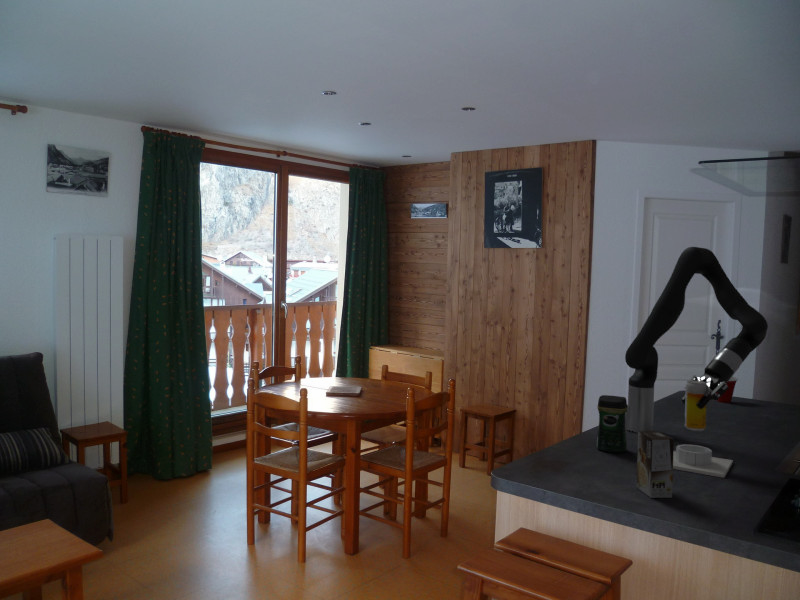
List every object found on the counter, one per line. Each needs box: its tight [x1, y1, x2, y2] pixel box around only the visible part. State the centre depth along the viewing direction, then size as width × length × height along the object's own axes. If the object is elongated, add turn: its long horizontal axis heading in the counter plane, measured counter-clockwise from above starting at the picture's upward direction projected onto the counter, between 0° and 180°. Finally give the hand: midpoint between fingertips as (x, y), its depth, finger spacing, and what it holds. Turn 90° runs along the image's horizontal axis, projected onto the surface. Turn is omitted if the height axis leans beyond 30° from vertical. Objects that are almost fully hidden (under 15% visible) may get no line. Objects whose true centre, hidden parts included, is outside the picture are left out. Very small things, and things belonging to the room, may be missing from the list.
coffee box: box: [636, 430, 675, 499], centre depth 175 cm, size 9×6×16 cm
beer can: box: [684, 380, 707, 432], centre depth 202 cm, size 6×6×15 cm
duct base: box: [673, 444, 733, 479], centre depth 202 cm, size 20×18×5 cm
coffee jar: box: [596, 394, 628, 453], centre depth 217 cm, size 10×8×19 cm
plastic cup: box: [715, 375, 739, 404], centre depth 304 cm, size 11×11×12 cm
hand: (691, 404), depth 201 cm, fingers closed on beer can, 6 cm apart
